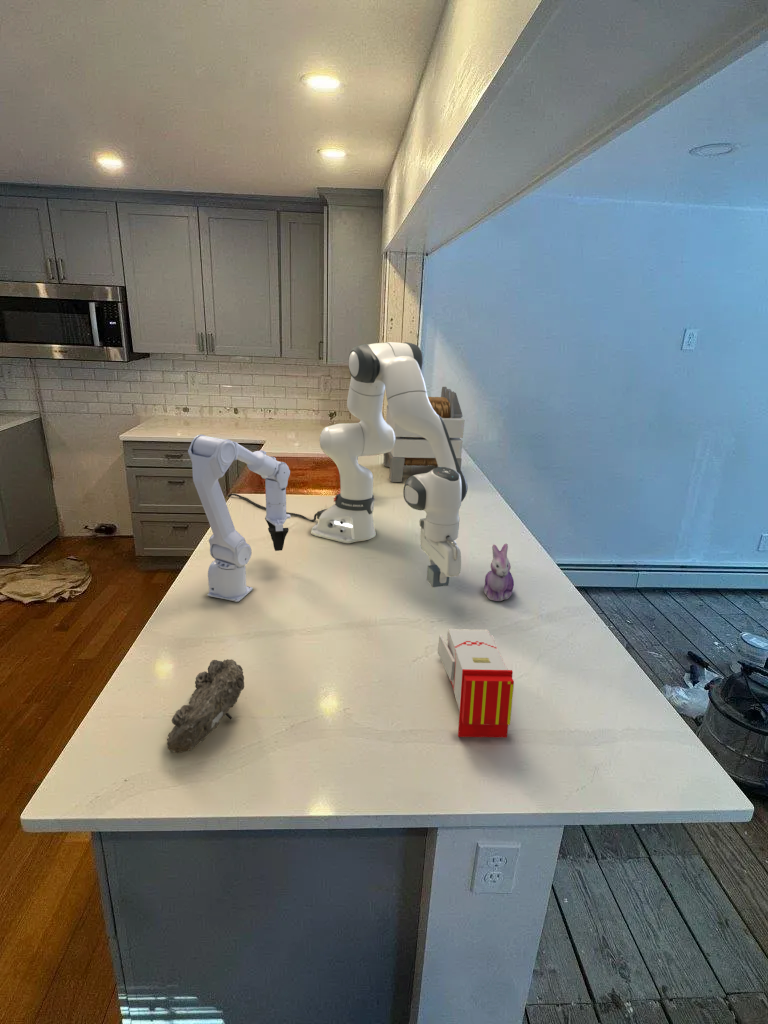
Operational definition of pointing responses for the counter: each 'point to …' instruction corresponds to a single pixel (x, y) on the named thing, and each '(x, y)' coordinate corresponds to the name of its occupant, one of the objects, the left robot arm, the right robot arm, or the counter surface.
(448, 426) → the transformer
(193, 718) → the fossil
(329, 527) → the right robot arm
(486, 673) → the toy
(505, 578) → the figurine
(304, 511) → the counter surface
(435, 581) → the block
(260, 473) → the left robot arm
